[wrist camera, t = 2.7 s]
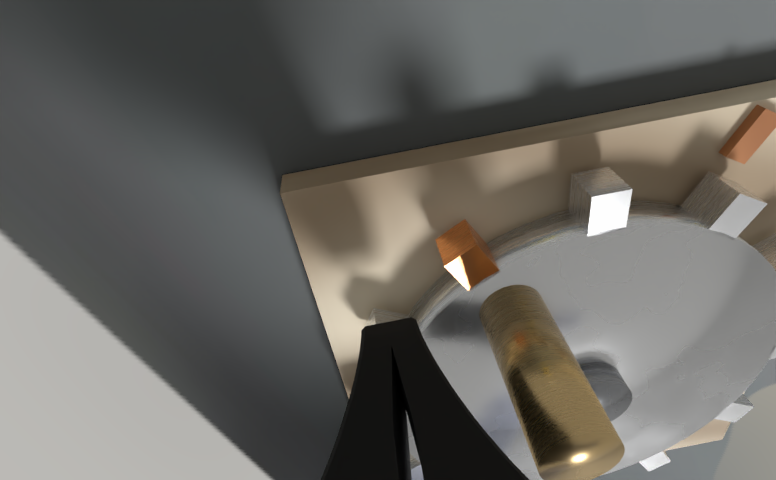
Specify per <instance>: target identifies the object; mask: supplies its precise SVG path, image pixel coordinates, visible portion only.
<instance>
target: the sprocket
mask: <svg viewBox="0 0 776 480" xmlns="http://www.w3.org/2000/svg"><path fill="white" fill-rule="evenodd" d="M632 190H633V189H632V188H631V187H630V186H629V185H628V184H627V183H626V182H624V181H623V180H622V179H621V178H620V177H619V176H618V175H617V174H616V173H615V172H614V171H613V170H612V169H610V168H609V167H604V168H598V169H593V170H588V171H583V172H578V173H573V174H571V178H570V190H569V202H568V210H565V211H561V212H557V213H554V214H551V215H548V216H546V217H543V218H540V219H537V220H534V221H532V222H529V223H526V224H524V225H522V226H520V227H517V228H515V229H513V230H511V231H509V232H507V233H505V234H503V235H501V236H498V237H497V238H495V239H493V240H492V241H490V242H488V243H486V242H485V241H484V240H483V239H482V238H481V237H480V235H479V234H478V233H477V232H476V231H475V230H474V229H473V227H472V226H471V225H470V224H469V223H468V222H467V221H466V220H465V219H464V220H463V221H461V222H460V223H458V224H457V225H455V226H454V227H453V228H451V229H450V230H448V231H447V232H445V233H444V234H443V235H441V236H440V237H438V238H437V239H435V240H436V243H437V246H438V249H439V252H440V255H441V258H442V261H443V264H444V267H445V268H446V269H447V270H448V271H447V272H446V273H445V274H443V275H442V276H441V277H440V278H439V279H438V280H437V281H436V282H435V283H434V284H433V285H432V286H431V287H430V288H429V289H428V290H427V291H426V292H425V293H424V295H423V296H422V297H421V298H420V299H419V300H418V302H417V303H416V304H415V305H414V306H413V308H412V309H411V311H410V313H409V314H408V315H406V314H401V313H396V312H391V311H386V310H381V309H376V308H373V310H372V313H371V315H370V317H369V319H368V321H367V323H366V325H365V326H369V325H374V324H379V323H384V322H390V321H395V320H400V319H405V318H410V317H412V318H414V319H416V320H417V323H418V326H419V329H420V331H421V334H422V336H423V338H424V340H425V342H426V344H427V346H428V348H429V350H430V352H431V353H432V355H433V357H434V359H435V361H436V362H437V364H438V366H439V367H440V369H441V370H442V372H443V373H444V375H445V377H446V378H447V380H448V381H449V383H450V384H451V386H452V387H453V389H454V390H455V392H456V393H457V395H458V396H459V397H460V399H461V400H462V402H463V403H464V404H465V406H466V407H467V408H468V410H469V411H470V412H471V414H472V415H473V416H474V418H475V419H476V420H477V421H478V423H479V424H480V425H481V426H482V428H483V429H484V430H485V431H486V432H487V434H488V435H489V436H490V437H491V438H492V440H493V441H494V442H495V443H496V444H497V445H498V447H499V448H500V449H501V450H502V451H503V452H504V453H505V454H506V456H507V457H508V458H509V459H510V460H511V461H512V462H513V463H514V464H515V465H516V466H517V467H518V468H519V469H520V471H521V472H522V473H523V474H524V475H525V476H526V477H527V478H528V479H529V480H591V479H594V478H596V477H598V476H600V475H604V474H607V473H611V472H614V471H616V470H619V469H622V468H625V467H628V466H630V465H633V464H635V463H637V462H640V463H641V464H642V465H643V466H644V467H645V468H646V469H647V470H648V471H651V470H653V469H655V468H657V467H660V466H662V465H664V464H666V463H669V462H671V460H670V458H669V457H668V455H667V454H666V452H665V450H666V449H668V448H670V447H671V446H673V445H675V444H677V443H678V442H680V441H682V440H684V439H685V438H687V437H689V436H690V435H692V434H693V433H695V432H696V431H698V430H699V429H701V428H702V427H704V426H705V425H707V424H708V423H709V422H711V421H712V420H713V419H717V420H723V421H729V422H736V421H738V420H739V419H740V418H741V417H742V416H744V415H745V414H746V413H747V412H749V411H750V410H751V409H752V408H754V406H753V405H752V403H751V402H750V401H749V400H748V399H747V398H746V396H745V395H744V394H743V393H744V391H745V390H746V389H747V388H748V387H749V386H750V385H751V384H752V383H753V382H754V380H755V379H756V378H757V376H758V375H759V374H760V372H761V371H762V370H763V368H764V367H765V365H766V364H767V362H768V360H769V359H773V358H776V233H775V234H773V235H771V236H769V237H767V238H766V239H764V240H762V241H760V242H758V243H757V244H755V245H753V246H751V245H750V244H748V243H747V242H746V241H745V240H743V239H742V238H741V237H740V236H738V235H739V234H740V233H741V232H742V231H743V230H744V229H745V228H746V227H747V226H748V225H749V223H750V222H751V221H752V220H753V219H754V218H755V217H756V216H757V215H758V214H759V213H760V212H761V210H762V209H763V208H764V207H765V206H766V205H767V203H766V202H764V201H763V200H761V199H760V198H759V197H757V196H756V195H754V194H753V193H751V192H750V191H748V190H747V189H745V188H744V187H742V186H741V185H739V184H738V183H737V182H735V181H732V180H730V179H727V178H725V177H722V176H719V175H717V174H714V173H711V172H708V173H707V174H706V175H705V177H704V178H703V179H702V180H701V182H700V183H699V184H698V185H697V187H696V188H695V189H694V190H693V191H692V193H691V194H690V195H689V196H688V198H687V199H686V200H685V201H684V202H683V204H682V205H681V206H680V205H676V204H672V203H663V202H653V201H631V195H632ZM406 413H407V411H406ZM407 426H408V438H409V450H410V463H411V476H412V480H424V479H423V473H422V467H421V463H420V459H419V456H418V452H417V448H416V445H415V441H414V437H413V433H412V430H411V426H410V422H409V419H408V415H407Z"/></svg>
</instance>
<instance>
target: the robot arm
mask: <svg viewBox="0 0 776 480" xmlns="http://www.w3.org/2000/svg"><path fill="white" fill-rule="evenodd" d="M406 411H407V413H406ZM407 415H408V419H409V422H410V426H411V430H412V433H413V437H414V441H415V445H416V448H417V452H418V456H419V459H420V463H421V467H422V473H423V479H424V480H529V479H528V478H527V477H526V476H525V475H524V474H523V473H522V472H521V471H520V469H519V468H518V467H517V466H516V465H515V464H514V463H513V462H512V461H511V460H510V459H509V458H508V457H507V456H506V454H505V453H504V452H503V451H502V450H501V449H500V448H499V447H498V445H497V444H496V443H495V442H494V441H493V440H492V438H491V437H490V436H489V435H488V434H487V432H486V431H485V430H484V429H483V428H482V426H481V425H480V424H479V423H478V421H477V420H476V419H475V418H474V416H473V415H472V414H471V412H470V411H469V410H468V408H467V407H466V406H465V404H464V403H463V402H462V400H461V399H460V397H459V396H458V395H457V393H456V392H455V390H454V389H453V387H452V386H451V384H450V383H449V381H448V380H447V378H446V377H445V375H444V373H443V372H442V370H441V369H440V367H439V366H438V364H437V362H436V361H435V359H434V357H433V355H432V353H431V352H430V350H429V348H428V346H427V344H426V342H425V340H424V338H423V336H422V334H421V331H420V329H419V326H418V323H417V320H416V319H414V318H412V317H410V318H405V319H400V320H395V321H390V322H384V323H379V324H374V325H369V326H365V327H364V328H363V329H362V330H361V344H360V352H359V358H358V363H357V368H356V373H355V377H354V381H353V385H352V389H351V393H350V397H349V401H348V405H347V408H346V411H345V414H344V418H343V421H342V424H341V427H340V430H339V434H338V436H337V439H336V442H335V445H334V448H333V450H332V453H331V456H330V458H329V461H328V463H327V466H326V468H325V471H324V473H323V476H322V478H321V480H412V476H411V463H410V450H409V438H408V426H407Z"/></svg>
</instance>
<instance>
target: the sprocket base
mask: <svg viewBox="0 0 776 480" xmlns="http://www.w3.org/2000/svg"><path fill="white" fill-rule="evenodd" d="M604 167H609V168H610V169H612V170H613V171H614V172H615V173H616V174H617V175H618V176H619V177H620V178H621V179H622V180H623V181H624V182H626V183H627V184H628V185H629V186H630V187H631V188H632V189H633V190H632V195H631V201H653V202H663V203H672V204H676V205H680V206H681V205H682V204H683V202H684V201H685V200H686V199H687V198H688V196H689V195H690V194H691V193H692V191H693V190H694V189H695V188H696V187H697V185H698V184H699V183H700V182H701V180H702V179H703V178H704V177H705V175H706V174H707V173H708V172H711V173H714V174H717V175H719V176H722V177H725V178H727V179H730V180H732V181H735V182H737V183H738V184H739V185H741V186H742V187H744V188H745V189H747V190H748V191H750V192H751V193H753V194H754V195H756V196H757V197H759V198H760V199H761V200H763V201H764V202H766V203H767V205H766V206H765V207H764V208H763V209H762V210H761V212H760V213H759V214H758V215H757V216H756V217H755V218H754V219H753V220H752V221H751V222H750V223H749V225H748V226H747V227H746V228H745V229H744V230H743V231H742V232H741V233H740V234H739V235H738V236H740V237H741V238H742V239H743V240H745V241H746V242H747V243H748V244H750V245H751V246H753V245H755V244H757V243H758V242H760V241H762V240H764V239H766V238H767V237H769V236H771V235H773V234H775V233H776V80H771V81H766V82H761V83H756V84H750V85H745V86H740V87H735V88H730V89H725V90H719V91H714V92H709V93H704V94H699V95H694V96H688V97H683V98H678V99H673V100H668V101H663V102H657V103H652V104H647V105H642V106H637V107H632V108H626V109H621V110H616V111H611V112H606V113H601V114H595V115H590V116H585V117H580V118H575V119H570V120H564V121H559V122H554V123H549V124H544V125H539V126H533V127H528V128H523V129H518V130H513V131H508V132H502V133H497V134H492V135H487V136H482V137H477V138H471V139H466V140H461V141H456V142H451V143H446V144H440V145H435V146H430V147H425V148H420V149H415V150H409V151H404V152H399V153H394V154H389V155H384V156H378V157H373V158H368V159H363V160H358V161H353V162H347V163H342V164H337V165H332V166H327V167H322V168H316V169H311V170H306V171H301V172H296V173H291V174H285V175H282V182H281V189H280V195H281V198H282V201H283V204H284V207H285V210H286V213H287V216H288V219H289V222H290V225H291V228H292V231H293V234H294V237H295V240H296V243H297V246H298V249H299V252H300V255H301V258H302V261H303V264H304V267H305V270H306V273H307V276H308V279H309V282H310V285H311V288H312V291H313V294H314V297H315V300H316V303H317V306H318V309H319V311H320V314H321V317H322V320H323V323H324V326H325V329H326V332H327V335H328V338H329V341H330V344H331V347H332V350H333V353H334V356H335V359H336V362H337V365H338V368H339V371H340V374H341V377H342V380H343V383H344V386H345V389H346V392H347V395H348V398H349V397H350V393H351V389H352V385H353V381H354V377H355V373H356V368H357V363H358V358H359V352H360V344H361V330H362V329H363V328H364V327H365V325H366V323H367V321H368V319H369V317H370V315H371V313H372V310H373V308H376V309H381V310H386V311H391V312H396V313H401V314H406V315H408V314H409V313H410V311H411V309H412V308H413V306H414V305H415V304H416V303H417V302H418V300H419V299H420V298H421V297H422V296H423V295H424V293H425V292H426V291H427V290H428V289H429V288H430V287H431V286H432V285H433V284H434V283H435V282H436V281H437V280H438V279H439V278H440V277H441V276H442V275H443V274H445V273H446V272H447V271H448V270H447V269H446V268H445V267H444V264H443V261H442V258H441V255H440V252H439V249H438V246H437V243H436V240H435V239H437V238H438V237H440V236H441V235H443V234H444V233H445V232H447V231H448V230H450V229H451V228H453V227H454V226H455V225H457V224H458V223H460V222H461V221H463V220H464V219H465V220H466V221H467V222H468V223H469V224H470V225H471V226H472V227H473V229H474V230H475V231H476V232H477V233H478V234H479V235H480V237H481V238H482V239H483V240H484V241H485V242H486V243H488V242H490V241H492V240H493V239H495V238H497V237H498V236H501V235H503V234H505V233H507V232H509V231H511V230H513V229H515V228H517V227H520V226H522V225H524V224H526V223H529V222H532V221H534V220H537V219H540V218H543V217H546V216H548V215H551V214H554V213H557V212H561V211H565V210H568V202H569V190H570V178H571V174H573V173H578V172H583V171H588V170H593V169H598V168H604ZM744 393H745V391H744ZM744 393H743V394H744ZM729 424H730V422H729V421H723V420H717V419H713V420H712V421H711V422H709V423H708V424H707V425H705V426H704V427H702V428H701V429H699V430H698V431H696V432H695V433H693V434H692V435H690V436H689V437H687V438H685V439H684V440H682V441H680V442H678V443H677V444H675V445H673V446H671V447H670V448H668V449H666V450H671V449H676V448H681V447H686V446H691V445H696V444H701V443H707V442H712V441H717V440H722V439H723V437H724V435H725V433H726V431H727V429H728V426H729ZM666 450H665V451H666Z"/></svg>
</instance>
